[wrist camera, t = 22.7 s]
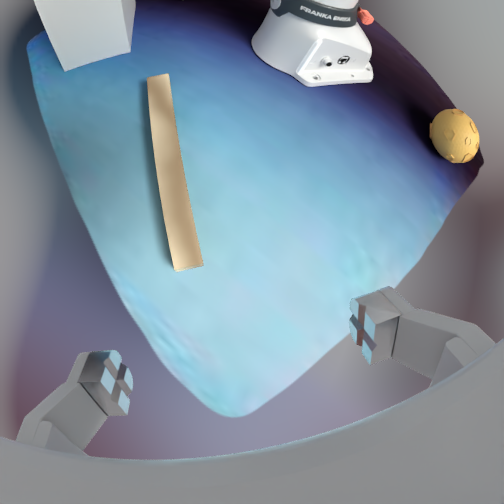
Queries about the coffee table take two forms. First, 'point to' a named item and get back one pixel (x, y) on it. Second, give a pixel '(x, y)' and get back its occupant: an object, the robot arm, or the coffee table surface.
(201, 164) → the coffee table surface
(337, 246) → the coffee table surface
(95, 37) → the pedestal
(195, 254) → the beech bar
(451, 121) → the stress ball
